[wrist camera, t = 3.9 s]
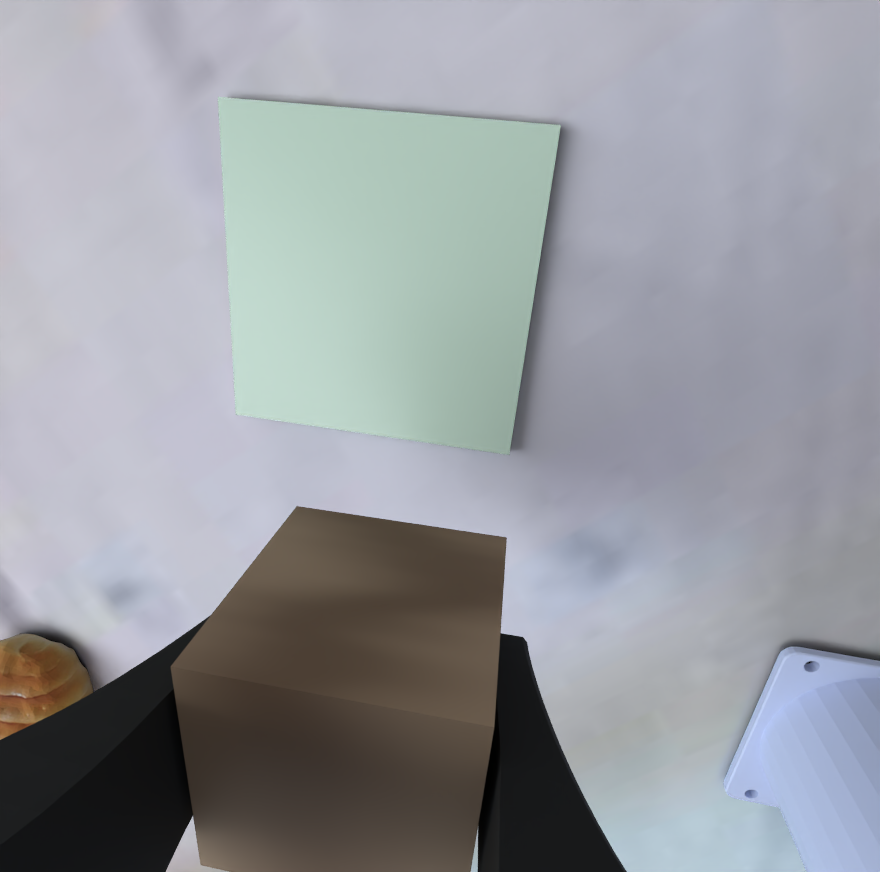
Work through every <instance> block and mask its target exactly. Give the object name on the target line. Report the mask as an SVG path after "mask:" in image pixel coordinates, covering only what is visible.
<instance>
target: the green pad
mask: <svg viewBox="0 0 880 872" xmlns="http://www.w3.org/2000/svg"><path fill="white" fill-rule="evenodd" d="M218 108H219V126H220V144H221V161H222V179H223V197H224V214H225V232H226V250H227V268H228V285H229V303H230V321H231V339H232V356H233V374H234V392H235V410H236V415H242V416H249V417H256V418H262V419H269V420H276V421H283V422H289V423H296V424H303V425H310V426H317V427H323V428H330V429H337V430H344V431H350V432H357V433H364V434H371V435H378V436H384V437H391V438H398V439H405V440H411V441H418V442H425V443H432V444H438V445H445V446H452V447H459V448H466V449H472V450H479V451H486V452H493V453H499V454H506V455H509V453H510V447H511V440H512V434H513V427H514V421H515V415H516V408H517V402H518V396H519V389H520V383H521V376H522V370H523V364H524V357H525V351H526V344H527V338H528V332H529V325H530V319H531V313H532V306H533V300H534V293H535V287H536V281H537V274H538V268H539V262H540V255H541V249H542V242H543V236H544V230H545V223H546V217H547V210H548V204H549V198H550V191H551V185H552V179H553V172H554V166H555V159H556V153H557V147H558V140H559V134H560V127H561V125H553V124H541V123H529V122H517V121H505V120H492V119H480V118H468V117H456V116H444V115H432V114H420V113H408V112H395V111H383V110H371V109H359V108H347V107H335V106H323V105H310V104H298V103H286V102H274V101H262V100H250V99H238V98H226V97H218Z"/></svg>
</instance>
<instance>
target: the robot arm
mask: <svg viewBox="0 0 880 872" xmlns="http://www.w3.org/2000/svg"><path fill="white" fill-rule="evenodd" d="M210 616H211V615H210ZM210 616H209V617H210ZM209 617H208V618H209ZM208 618H206V619H205V620H203V621H202V622H201V623H199V624H198V625H197V626H195V627H194V628H192V629H191V630H190V631H188V632H187V633H185V634H184V635H182V636H181V637H179V638H178V639H177V640H175V641H174V642H172V643H171V644H169V645H168V646H167V647H165V648H164V649H162V650H161V651H159V652H158V653H156V654H155V655H153V656H151V657H150V658H148V659H147V660H145V661H144V662H142V663H141V664H139V665H137V666H136V667H134V668H133V669H131V670H130V671H128V672H127V673H125V674H123V675H122V676H120V677H119V678H117V679H115V680H114V681H112V682H110V683H109V684H107V685H105V686H104V687H102V688H100V689H98V690H97V691H95V692H93V693H92V694H90V695H88V696H86V697H84V698H82V699H81V700H79V701H77V702H75V703H73V704H71V705H70V706H68V707H66V708H64V709H62V710H60V711H58V712H56V713H55V714H53V715H51V716H49V717H46V718H44V719H42V720H40V721H38V722H36V723H34V724H32V725H30V726H28V727H26V728H24V729H22V730H20V731H17V732H15V733H13V734H11V735H9V736H7V737H5V738H3V739H1V740H0V872H166V869H167V867H168V865H169V863H170V861H171V859H172V857H173V855H174V853H175V850H176V848H177V846H178V844H179V842H180V840H181V838H182V836H183V834H184V832H185V829H186V828H187V826H188V824H189V822H190V820H191V818H192V816H193V811H192V804H191V798H190V791H189V785H188V778H187V772H186V765H185V759H184V752H183V745H182V739H181V732H180V726H179V719H178V713H177V706H176V700H175V693H174V687H173V680H172V673H171V665H172V664H173V663H174V662H175V660H176V659H177V658H178V657H179V655H180V654H181V653H182V651H183V650H184V649H185V648H186V646H187V645H188V644H189V643H190V641H191V640H192V639H193V637H194V636H195V635H196V634H197V632H198V631H199V630H200V629H201V627H202V626H203V625H204V624H205V622H206V621H207V620H208ZM809 661H813V662H812V663H809V664H806V663H807V662H809ZM723 785H724V788H725V790H726V793H727V794H728V795H729V796H730V797H733V798H735V799H740V800H745V801H750V802H755V803H760V804H765V805H769V806H774V807H779V808H780V810H781V812H782V815H783V817H784V819H785V822H786V824H787V826H788V829H789V831H790V834H791V836H792V838H793V841H794V843H795V845H796V848H797V850H798V853H799V855H800V857H801V860H802V862H803V864H804V867H805V869H806V871H807V872H880V661H877V660H871V659H865V658H860V657H854V656H848V655H842V654H837V653H831V652H825V651H820V650H814V649H808V648H802V647H788V648H785V649H784V650H782V651H781V652H780V654H779V656H778V658H777V660H776V662H775V665H774V667H773V669H772V672H771V674H770V676H769V678H768V681H767V683H766V685H765V688H764V690H763V692H762V694H761V697H760V699H759V701H758V704H757V706H756V708H755V710H754V713H753V715H752V717H751V720H750V722H749V724H748V726H747V729H746V731H745V733H744V736H743V738H742V740H741V742H740V745H739V747H738V749H737V752H736V754H735V756H734V758H733V761H732V763H731V765H730V768H729V770H728V772H727V775H726V777H725V779H724V783H723ZM478 872H626V870H625V868H624V867H623V865H622V864H621V862H620V861H619V859H618V857H617V856H616V854H615V852H614V851H613V849H612V847H611V845H610V844H609V842H608V840H607V838H606V837H605V835H604V833H603V831H602V829H601V828H600V826H599V824H598V822H597V821H596V819H595V817H594V815H593V813H592V811H591V809H590V807H589V805H588V803H587V801H586V800H585V798H584V796H583V794H582V792H581V790H580V788H579V786H578V784H577V781H576V779H575V777H574V775H573V773H572V771H571V769H570V766H569V764H568V762H567V760H566V758H565V755H564V753H563V751H562V749H561V746H560V744H559V741H558V739H557V737H556V734H555V732H554V729H553V727H552V724H551V721H550V719H549V716H548V713H547V711H546V708H545V705H544V703H543V700H542V697H541V694H540V691H539V688H538V685H537V681H536V678H535V675H534V671H533V668H532V664H531V660H530V656H529V651H528V646H527V642H526V641H525V639H524V638H523V637H519V636H513V635H507V634H501V633H500V647H499V662H498V678H497V693H496V709H495V724H494V732H493V738H492V744H491V750H490V756H489V762H488V768H487V774H486V780H485V786H484V792H483V798H482V805H481V811H480V817H479V823H478Z"/></svg>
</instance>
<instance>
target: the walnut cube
mask: <svg viewBox="0 0 880 872" xmlns="http://www.w3.org/2000/svg"><path fill="white" fill-rule="evenodd" d="M506 539H507V538H506V537H499V536H493V535H486V534H479V533H473V532H466V531H459V530H452V529H446V528H439V527H432V526H426V525H419V524H412V523H406V522H399V521H392V520H385V519H379V518H372V517H365V516H359V515H352V514H345V513H339V512H332V511H325V510H319V509H312V508H305V507H298V506H297V507H296V508H295V509H294V511H293V512H292V513H291V514H290V516H289V517H288V518H287V520H286V521H285V522H284V523H283V525H282V526H281V527H280V528H279V530H278V531H277V532H276V533H275V535H274V536H273V537H272V539H271V540H270V541H269V542H268V544H267V545H266V546H265V547H264V549H263V550H262V551H261V553H260V554H259V555H258V556H257V558H256V559H255V560H254V561H253V563H252V564H251V565H250V566H249V568H248V569H247V570H246V572H245V573H244V574H243V575H242V577H241V578H240V579H239V580H238V582H237V583H236V584H235V585H234V587H233V588H232V589H231V591H230V592H229V593H228V594H227V596H226V597H225V598H224V599H223V601H222V602H221V603H220V605H219V606H218V607H217V608H216V610H215V611H214V612H213V613H212V615H211V616H210V617H209V618H208V620H207V621H206V622H205V624H204V625H203V626H202V627H201V629H200V630H199V631H198V632H197V634H196V635H195V636H194V637H193V639H192V640H191V641H190V643H189V644H188V645H187V646H186V648H185V649H184V650H183V651H182V653H181V654H180V655H179V657H178V658H177V659H176V660H175V662H174V663H173V664H172V665H171V673H172V680H173V687H174V693H175V700H176V706H177V713H178V719H179V726H180V732H181V739H182V745H183V752H184V759H185V765H186V772H187V778H188V785H189V791H190V798H191V804H192V811H193V818H194V824H195V831H196V837H197V844H198V850H199V857H200V863H201V865H203V866H207V867H212V868H216V869H221V870H225V871H229V872H470V871H471V865H472V859H473V853H474V847H475V841H476V835H477V829H478V823H479V817H480V811H481V805H482V798H483V792H484V786H485V780H486V774H487V768H488V762H489V756H490V750H491V744H492V738H493V732H494V724H495V709H496V693H497V678H498V662H499V647H500V632H501V616H502V601H503V585H504V570H505V555H506Z"/></svg>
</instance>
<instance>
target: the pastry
mask: <svg viewBox="0 0 880 872" xmlns="http://www.w3.org/2000/svg"><path fill="white" fill-rule="evenodd" d="M92 693H93V687H92V683H91V680H90V676H89V673H88V671H87V669H86V668H85V667H84V666H83V665H82V664H81V663H80V661H79V659H78V657H77V655H76V653H75V651H74V650H73V649H72V648H68V647H67V646H65V645H64V644H62V643H57V642H53V641H49V640H47V639H45V638H43V637H40V636H37V635H33V634H18V635H16V636H13V637H10V638H7V639H4V640H0V740H1V739H3V738H5V737H7V736H9V735H11V734H13V733H15V732H17V731H20V730H22V729H24V728H26V727H28V726H30V725H32V724H34V723H36V722H38V721H40V720H42V719H44V718H46V717H49V716H51V715H53V714H55V713H56V712H58V711H60V710H62V709H64V708H66V707H68V706H70V705H71V704H73V703H75V702H77V701H79V700H81V699H82V698H84V697H86V696H88V695H90V694H92Z"/></svg>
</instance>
